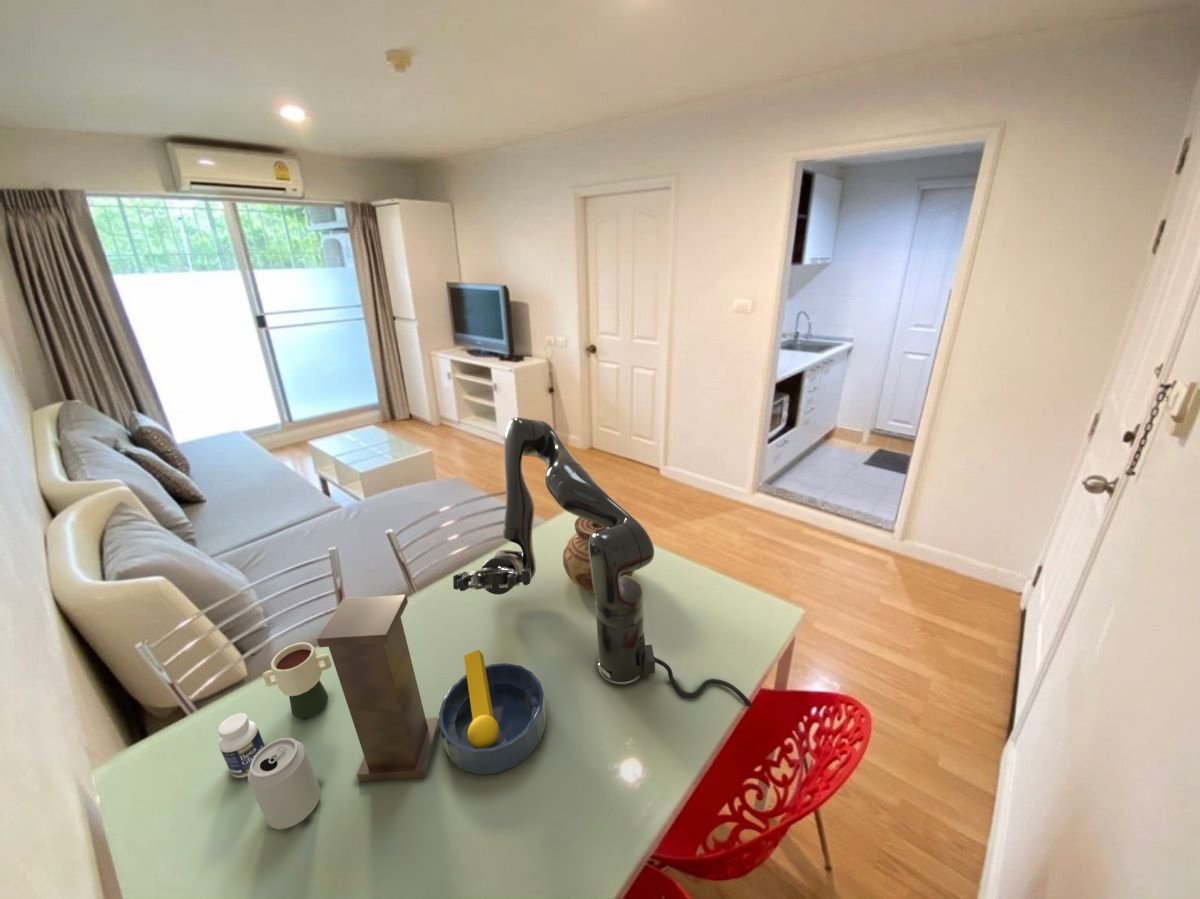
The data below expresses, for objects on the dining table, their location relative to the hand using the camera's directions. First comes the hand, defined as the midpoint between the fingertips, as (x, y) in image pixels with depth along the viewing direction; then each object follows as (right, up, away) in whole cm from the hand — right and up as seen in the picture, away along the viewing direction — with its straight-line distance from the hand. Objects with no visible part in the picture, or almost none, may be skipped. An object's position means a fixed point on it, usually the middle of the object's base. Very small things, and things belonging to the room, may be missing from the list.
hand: (485, 583), depth 88 cm
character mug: (-36, -26, +8) cm, 45 cm away
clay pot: (+21, -10, +41) cm, 47 cm away
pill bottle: (-40, -31, -2) cm, 51 cm away
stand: (-14, -29, -1) cm, 33 cm away
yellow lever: (-1, -22, +2) cm, 22 cm away
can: (-28, -33, -9) cm, 44 cm away
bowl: (+1, -27, +2) cm, 27 cm away
